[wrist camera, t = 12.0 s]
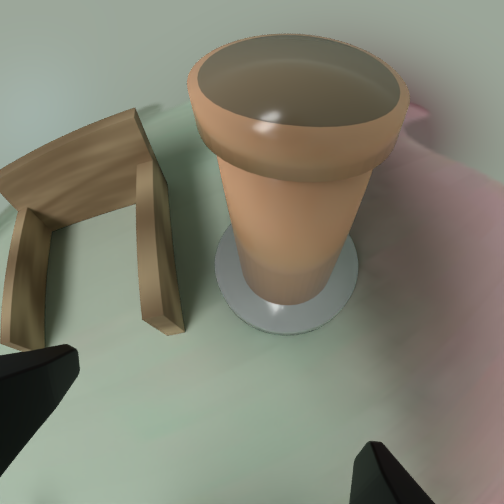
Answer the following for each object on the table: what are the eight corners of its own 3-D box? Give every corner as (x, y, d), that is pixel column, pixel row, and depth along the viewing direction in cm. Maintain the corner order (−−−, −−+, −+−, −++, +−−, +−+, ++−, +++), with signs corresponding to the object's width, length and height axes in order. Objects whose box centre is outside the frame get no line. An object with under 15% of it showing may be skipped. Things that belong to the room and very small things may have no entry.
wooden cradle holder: (185, 332, 18) (129, 286, 11) (35, 355, 17) (-42, 325, 10) (167, 183, 23) (135, 107, 16) (44, 224, 23) (-5, 172, 16)
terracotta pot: (350, 300, 17) (452, 132, 6) (242, 320, 17) (185, 154, 6) (322, 211, 20) (354, 33, 9) (229, 226, 20) (188, 44, 9)
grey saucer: (379, 281, 18) (385, 274, 17) (268, 364, 17) (268, 362, 15) (298, 191, 22) (299, 181, 21) (194, 252, 20) (190, 244, 19)
